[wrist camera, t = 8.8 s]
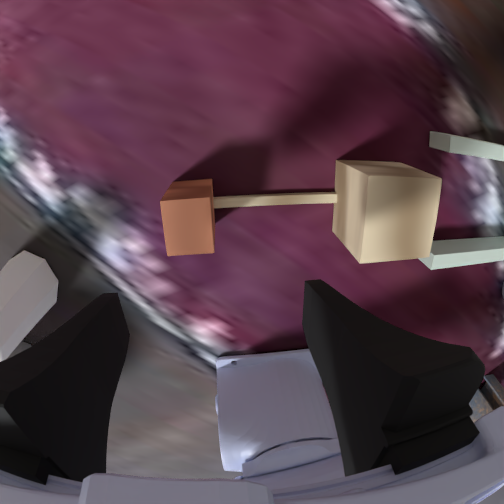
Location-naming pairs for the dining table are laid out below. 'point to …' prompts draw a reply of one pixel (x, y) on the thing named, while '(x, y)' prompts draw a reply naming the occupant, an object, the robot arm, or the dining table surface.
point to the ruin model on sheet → (487, 398)
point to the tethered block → (344, 198)
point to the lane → (471, 248)
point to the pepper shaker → (24, 298)
